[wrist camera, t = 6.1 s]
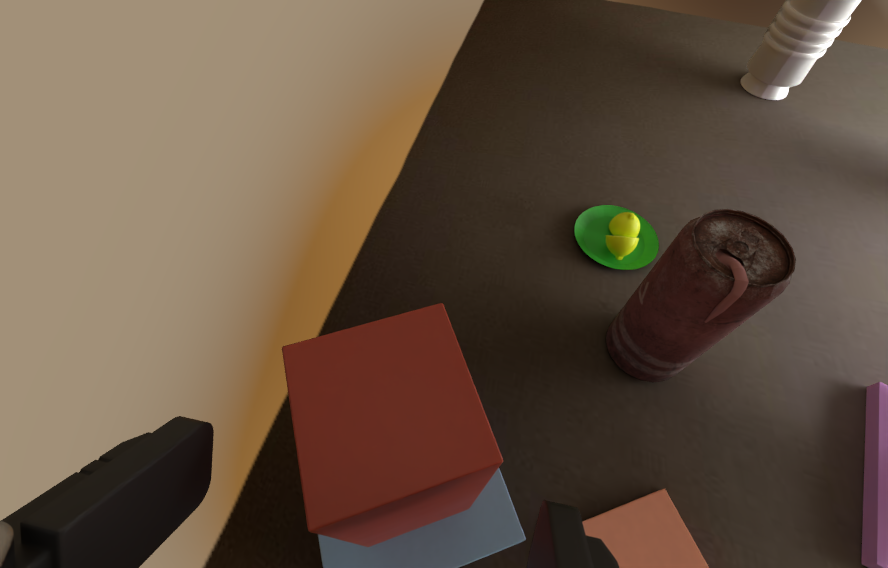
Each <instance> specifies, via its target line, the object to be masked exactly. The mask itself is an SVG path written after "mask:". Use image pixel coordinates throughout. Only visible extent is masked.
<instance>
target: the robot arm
mask: <svg viewBox="0 0 888 568" xmlns="http://www.w3.org/2000/svg"><path fill="white" fill-rule="evenodd" d="M212 451H213V427H212V425H211V424H210V423H208V422H203V421H199V420H194V419H190V418H186V417H181V416H179V417H175V418H174V419H172V420H170V421H169V422H167V423H166V424H165V425H163V426H162V427H160V428H159V429H157V430H156V431H154V432H153V433H146V434H143V435H141V436H138V437H135V438H133V439H130V440H127V441H125V442H122V443H120V444H119V445H117V446H116V447H114V448H113V449H111V450H110V451H108V452H107V453H105V454H103V455H102V456H100V458H99V460H94V461H93V462H91V463H90V464H88V465H87V466H85V467H83V468H82V469H81V471H80V472H79V473H77V472H76V473H74V474H73V475H71V476H69V477H68V478H66V479H65V480H63V481H62V482H60V483H59V484H57V485H56V486H54V487H52V488H51V489H49V490H48V491H46V492H45V493H43V494H42V495H40V496H39V497H37V498H35V499H34V500H33V501H31V502H30V503H28V504H27V505H25V506H23V507H22V508H20V509H18V510H17V511H16V512H14V513H12V514H11V515H9V516H8V517H6V518H5V519H3V520H1V521H0V568H139V567H140V566H141V565H142V564H143V563H144V562H145V560H147V558H149V556H150V555H151V554H152V553H153V552H154V551H155V550H156V549H157V548H158V547H159V546H160V545H161V544H162V543H163V542H164V541H165V540H166V539H167V538H168V537H169V536H170V535H171V534H172V533H173V532H174V531H175V530H176V529H177V528H178V527H179V526H180V525H181V524H182V522H184V521H185V519H187V518H188V517H189V515H190V514H191V513H192V512H193V511H194V510H195V509H196V508H197V507H198V506H199V505H200V503H201V502H202V501H203V499H204V497H205V495H206V493H207V491H208V488H209V485H210V481H211V470H212V469H211V468H212ZM527 568H619V565H618V562H617V560H616V559H615V557H614V556H613V555H612V553H611V552H610V551H609V549H608V548H607V546H606V545H605V544H604V542H603V541H602V540H601V539H599V538H595V537H591V536H586V534H585V530H584V527H583V523H582V519H581V515H580V512H579V509H578V508H576V507H572V506H568V505H563V504H559V503H555V502H550V501H546V500H544V501H543V503H542V505H541V508H540V512H539V516H538V520H537V524H536V528H535V532H534V537H533V541H532V545H531V549H530V553H529V557H528V563H527Z"/></svg>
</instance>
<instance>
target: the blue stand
mask: <svg viewBox="0 0 888 568" xmlns="http://www.w3.org/2000/svg"><path fill="white" fill-rule="evenodd" d="M318 538H319V545H320V551H321V558H322V564H323V568H459V567H461V566H464V565H466V564H469V563H471V562H474V561H476V560H479V559H481V558H484V557H486V556H488V555H491V554H493V553H496V552H498V551H501V550H503V549H506V548H508V547H511V546H513V545H516V544H518V543H521V542H523V541H525V540H526V538H525V535H524V533H523V530H522V528H521V525H520V522H519V520H518V517H517V514H516V512H515V509H514V506H513V504H512V501H511V498H510V496H509V493H508V490H507V488H506V485H505V482H504V480H503V477H502V474H501V472H500V469H499V468H498V469H497V471H496V472H495V473H494V475H493V476H492V478H491V479H490V480H489V482H488V483H487V485H486V486H485V487H484V489H483V490H482V492H481V493H480V494H479V496H478V497H477V499H476V500H475V501H474V503H473V504H472V506H471V507H470V508H469V509H468V510H465V511H462V512H460V513H457V514H454V515H452V516H449V517H446V518H444V519H441V520H439V521H436V522H433V523H431V524H428V525H425V526H423V527H420V528H417V529H415V530H412V531H410V532H407V533H404V534H402V535H399V536H396V537H394V538H391V539H389V540H386V541H383V542H381V543H378V544H375V545H373V546H370V547H365V546H362V545H358V544H354V543H350V542H346V541H343V540H339V539H335V538H331V537H328V536H324V535H320V534H318Z"/></svg>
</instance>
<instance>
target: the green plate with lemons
mask: <svg viewBox="0 0 888 568" xmlns="http://www.w3.org/2000/svg"><path fill="white" fill-rule="evenodd" d="M575 236H576V240H577V242H578V244H579V246H580V247H581V248H582V250H583V251H584V252H585V253H586V254H587V255H588V256H589V257H591V258H592V259H594V260H595V261H597V262H599V263H601V264H603V265H605V266H608V267H611V268H615V269H621V270H632V269H638V268H641V267H643V266H646V265H647V264H649V263H650V262H652V260H653V259H654V258H655V257H656V255H657V252H658V248H659V243H658V238H657V235H656V232H655V231H654V229H653V228H652V226H651V225H650V224H649V223H648V222H647V221H646V220H645V219H644V218H642V217H641V216H640V215H638V214H636V213H635V212H633V211H630V210H628V209H625V208H622V207H618V206H612V205H602V206H596V207H593V208H590V209H588V210H586V211H584V212H583V213H582V214H581V215H580V216H579V217H578V219H577V221H576V224H575Z"/></svg>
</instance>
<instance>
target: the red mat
mask: <svg viewBox="0 0 888 568" xmlns="http://www.w3.org/2000/svg"><path fill="white" fill-rule="evenodd" d="M582 523H583V527H584V530H585V534H586V536H591V537H595V538H599V539H601V540H602V541H603V542H604V544H605V545H606V546H607V548H608V549H609V551H610V552H611V553H612V555H613V556H614V557H615V559H616V560H617V562H618V565H619V568H709V567H708V565H707V563H706V562H705V560H704V558H703V556H702V554H701V553H700V551H699V549H698V547H697V546H696V544H695V542H694V540H693V538H692V537H691V535H690V533H689V531H688V529H687V528H686V526H685V524H684V522H683V520H682V519H681V517H680V515H679V513H678V511H677V510H676V508H675V506H674V504H673V502H672V501H671V499H670V497H669V495H668V493H667V492H666V490H665V489H661V490H658V491H656V492H653V493H651V494H649V495H646V496H644V497H641V498H639V499H636V500H634V501H631V502H629V503H627V504H624V505H622V506H619V507H617V508H614V509H612V510H609V511H607V512H604V513H602V514H600V515H597V516H595V517H592V518H590V519H587V520H585V521H582Z"/></svg>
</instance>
